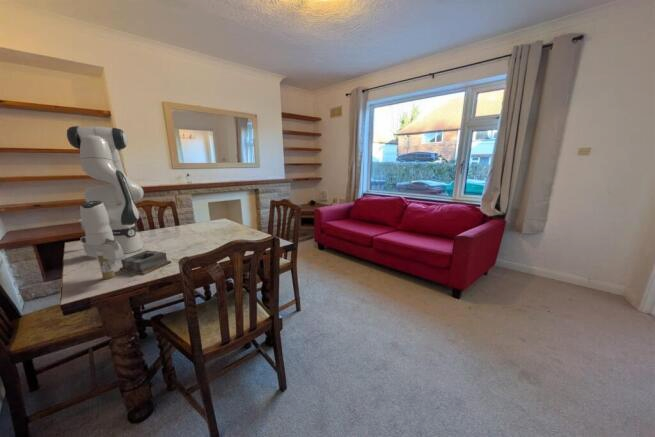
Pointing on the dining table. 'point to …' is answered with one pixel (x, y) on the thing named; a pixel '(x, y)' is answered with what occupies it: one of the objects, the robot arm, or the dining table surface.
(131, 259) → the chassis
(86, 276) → the dining table surface
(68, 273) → the dining table surface
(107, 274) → the sprinkles bottle
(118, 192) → the robot arm
